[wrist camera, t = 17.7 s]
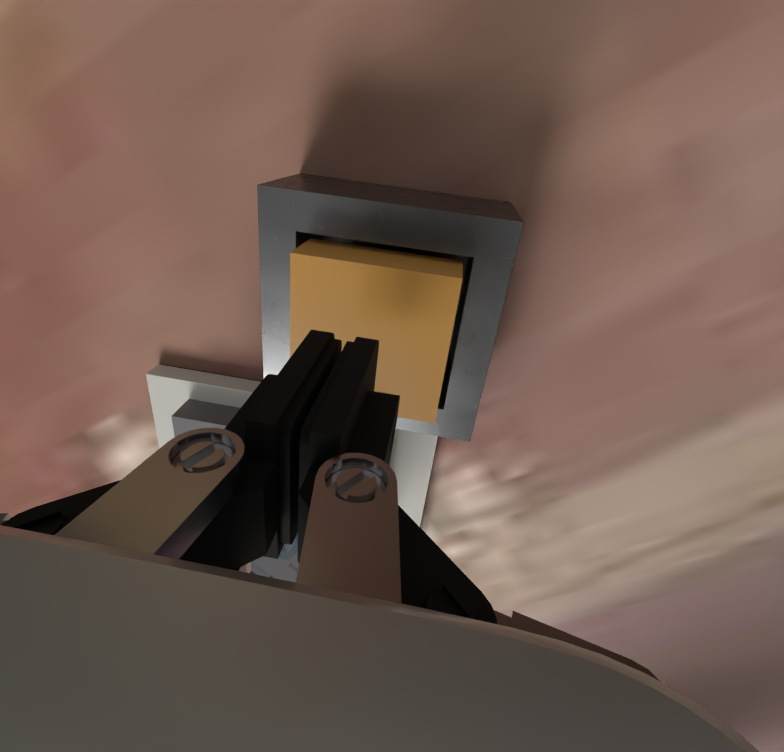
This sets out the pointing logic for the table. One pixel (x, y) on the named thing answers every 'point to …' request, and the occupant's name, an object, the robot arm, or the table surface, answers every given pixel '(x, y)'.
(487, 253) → the button housing
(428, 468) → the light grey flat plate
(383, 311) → the button
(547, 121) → the table surface
